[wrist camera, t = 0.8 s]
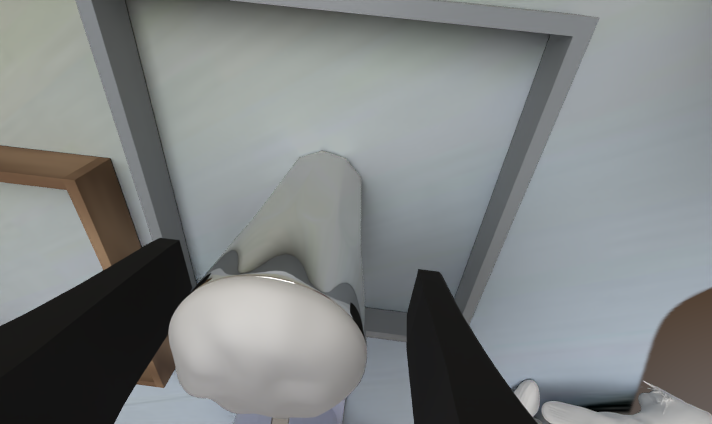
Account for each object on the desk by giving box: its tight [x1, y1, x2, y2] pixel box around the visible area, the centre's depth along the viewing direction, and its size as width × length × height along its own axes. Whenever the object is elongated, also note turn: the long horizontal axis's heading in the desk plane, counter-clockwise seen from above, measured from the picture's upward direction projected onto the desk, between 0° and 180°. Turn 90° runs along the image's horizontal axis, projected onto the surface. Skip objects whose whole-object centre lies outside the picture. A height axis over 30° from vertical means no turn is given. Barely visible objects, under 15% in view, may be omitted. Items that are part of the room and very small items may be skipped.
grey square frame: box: [75, 0, 599, 342], centre depth 14 cm, size 15×15×2 cm
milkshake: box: [168, 151, 367, 424], centre depth 11 cm, size 4×5×10 cm
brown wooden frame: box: [0, 146, 176, 388], centre depth 18 cm, size 15×15×2 cm
